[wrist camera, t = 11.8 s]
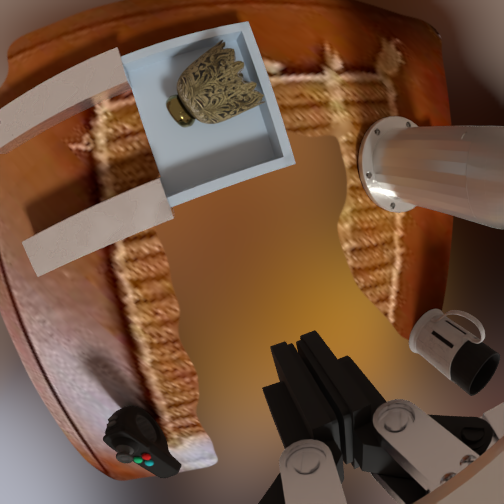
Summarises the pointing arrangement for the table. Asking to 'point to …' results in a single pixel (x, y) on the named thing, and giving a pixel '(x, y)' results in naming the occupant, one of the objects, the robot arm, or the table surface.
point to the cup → (212, 89)
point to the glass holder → (454, 349)
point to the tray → (200, 134)
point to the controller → (140, 441)
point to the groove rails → (101, 214)
